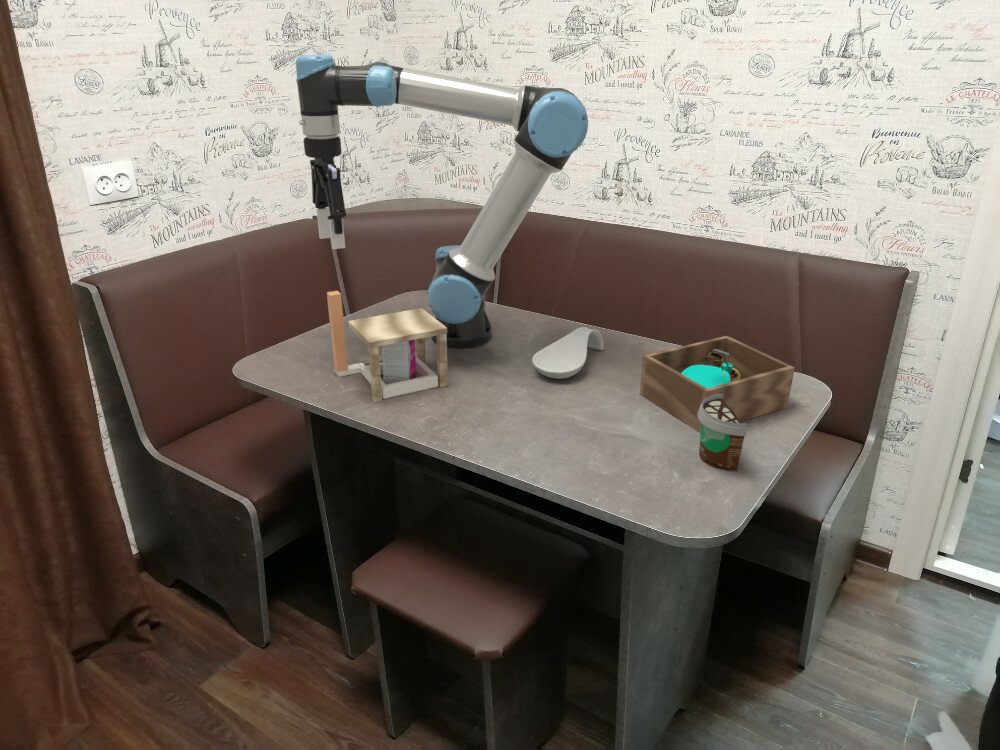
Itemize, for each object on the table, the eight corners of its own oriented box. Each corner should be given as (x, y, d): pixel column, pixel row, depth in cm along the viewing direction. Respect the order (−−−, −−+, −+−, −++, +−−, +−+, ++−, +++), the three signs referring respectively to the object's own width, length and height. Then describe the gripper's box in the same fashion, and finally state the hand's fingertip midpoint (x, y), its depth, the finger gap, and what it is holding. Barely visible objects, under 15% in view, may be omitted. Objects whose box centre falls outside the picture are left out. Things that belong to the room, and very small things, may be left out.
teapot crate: (721, 372, 167) (726, 335, 164) (787, 407, 152) (794, 367, 148) (639, 394, 158) (643, 355, 154) (701, 433, 142) (706, 391, 139)
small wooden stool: (424, 363, 172) (421, 308, 166) (448, 385, 161) (447, 327, 155) (353, 377, 165) (348, 320, 159) (374, 402, 154) (369, 342, 148)
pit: (381, 362, 173) (381, 360, 172) (387, 368, 169) (387, 366, 169) (365, 365, 171) (365, 363, 171) (370, 371, 168) (370, 370, 167)
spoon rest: (568, 390, 160) (569, 359, 157) (522, 377, 166) (522, 347, 163) (616, 353, 178) (618, 325, 175) (573, 343, 184) (574, 316, 181)
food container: (683, 441, 140) (689, 393, 136) (715, 439, 140) (722, 392, 136) (705, 477, 129) (712, 426, 125) (739, 475, 129) (748, 425, 125)
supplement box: (409, 388, 160) (406, 339, 155) (383, 386, 161) (379, 337, 156) (417, 377, 165) (415, 329, 160) (392, 375, 166) (388, 327, 161)
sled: (408, 358, 174) (403, 280, 166) (438, 386, 161) (434, 303, 153) (334, 373, 167) (326, 292, 159) (359, 404, 153) (351, 317, 145)
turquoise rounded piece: (767, 401, 155) (778, 334, 149) (722, 431, 144) (732, 360, 137) (707, 381, 164) (715, 316, 158) (660, 407, 153) (667, 339, 146)
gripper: (290, 131, 161) (302, 233, 170) (318, 144, 144) (329, 257, 153) (324, 129, 164) (334, 229, 174) (356, 141, 147) (364, 252, 156)
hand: (332, 242), depth 163 cm, fingers open, 9 cm apart
